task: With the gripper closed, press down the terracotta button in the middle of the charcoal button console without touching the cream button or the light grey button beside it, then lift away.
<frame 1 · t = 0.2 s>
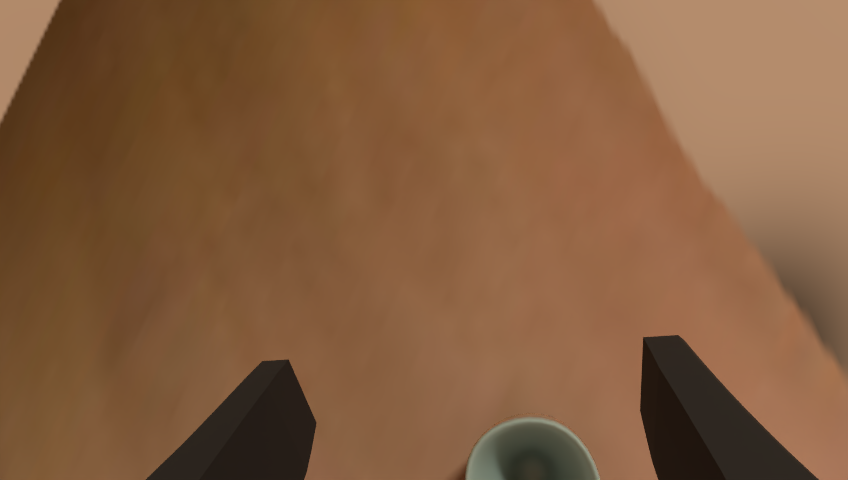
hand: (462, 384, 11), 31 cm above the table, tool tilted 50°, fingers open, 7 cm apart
cup: (533, 463, 39), on the table
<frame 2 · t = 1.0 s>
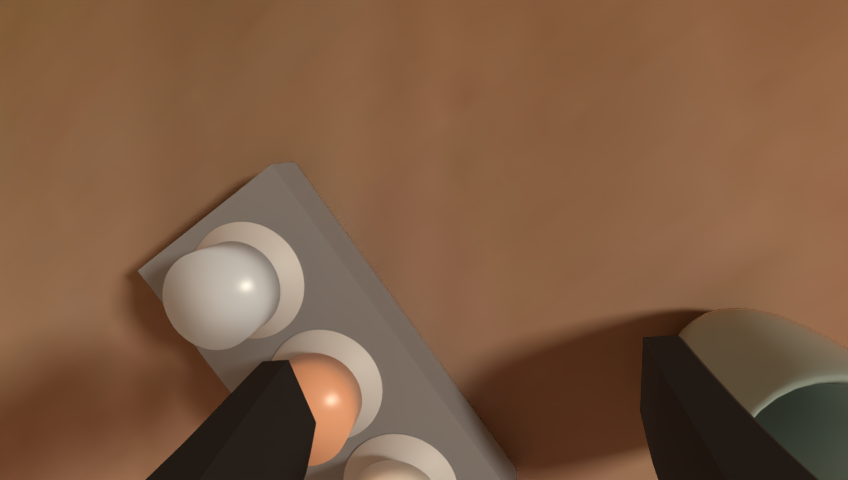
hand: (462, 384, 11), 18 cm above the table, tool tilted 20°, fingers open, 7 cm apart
console: (341, 362, 31), on the table
light grey button: (223, 293, 25), point 5 cm above the table, slide at 0.0 cm
terracotta button: (308, 407, 26), point 5 cm above the table, slide at 0.0 cm
cup: (720, 358, 28), on the table
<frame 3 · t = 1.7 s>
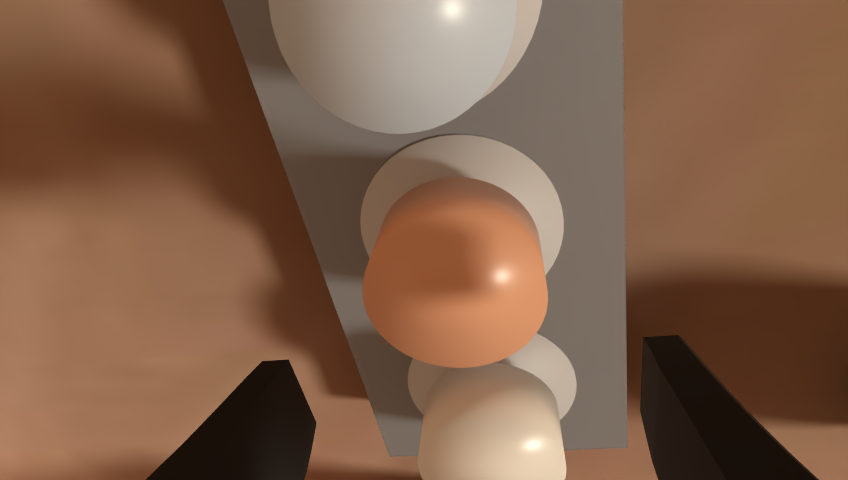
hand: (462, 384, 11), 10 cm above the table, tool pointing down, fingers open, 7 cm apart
cream button: (490, 438, 18), point 5 cm above the table, slide at 0.0 cm
console: (463, 188, 19), on the table
light grey button: (399, 5, 11), point 5 cm above the table, slide at 0.0 cm
terracotta button: (455, 273, 14), point 5 cm above the table, slide at 0.0 cm
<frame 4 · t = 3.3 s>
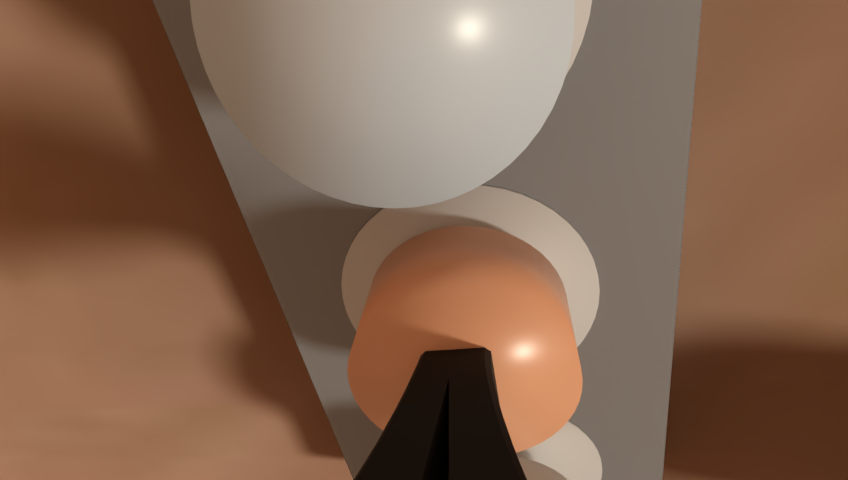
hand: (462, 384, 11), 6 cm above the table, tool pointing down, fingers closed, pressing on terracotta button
console: (470, 235, 16), on the table
light grey button: (392, 22, 8), point 5 cm above the table, slide at 0.0 cm
terracotta button: (464, 344, 12), point 5 cm above the table, slide at 0.7 cm, touching gripper
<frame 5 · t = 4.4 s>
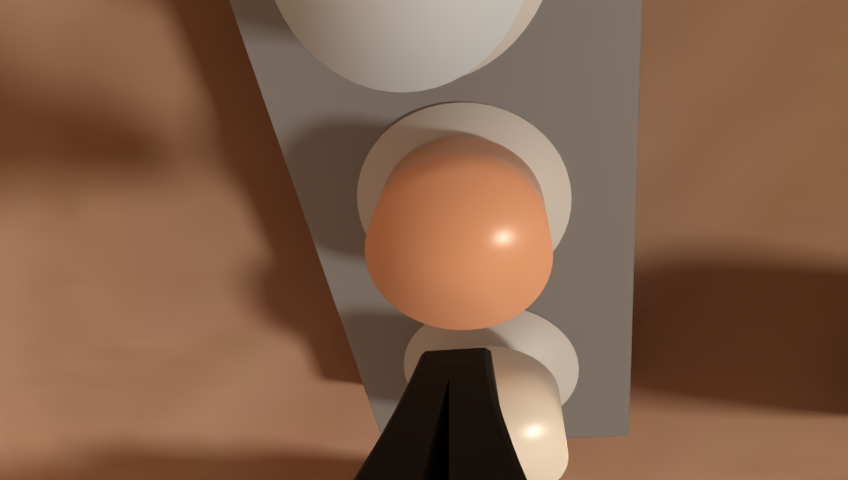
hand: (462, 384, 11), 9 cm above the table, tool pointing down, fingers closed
cream button: (489, 424, 17), point 5 cm above the table, slide at 0.0 cm
console: (465, 164, 18), on the table
terracotta button: (459, 234, 14), point 5 cm above the table, slide at 0.8 cm
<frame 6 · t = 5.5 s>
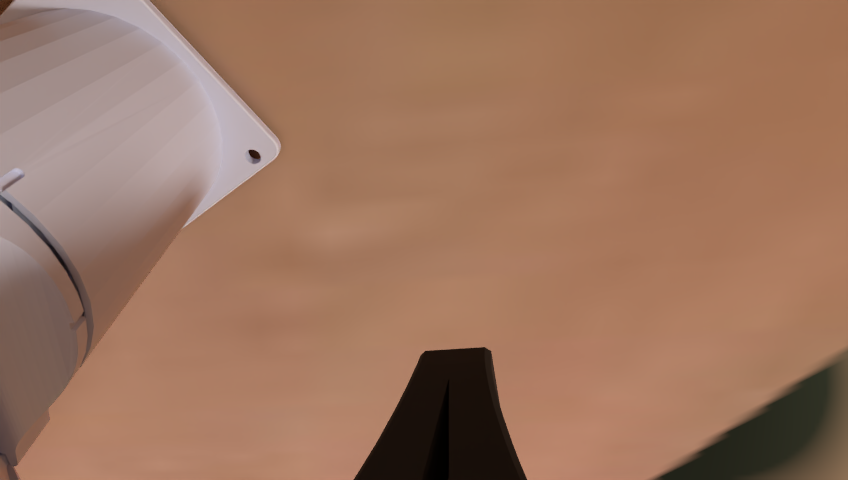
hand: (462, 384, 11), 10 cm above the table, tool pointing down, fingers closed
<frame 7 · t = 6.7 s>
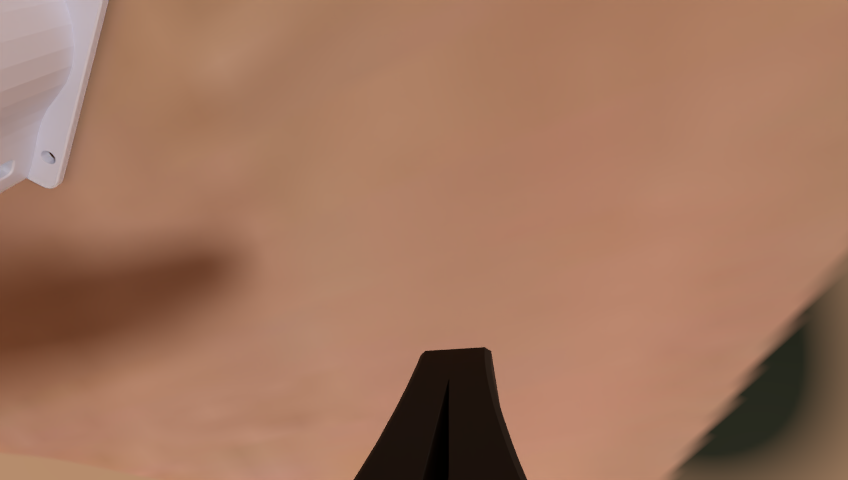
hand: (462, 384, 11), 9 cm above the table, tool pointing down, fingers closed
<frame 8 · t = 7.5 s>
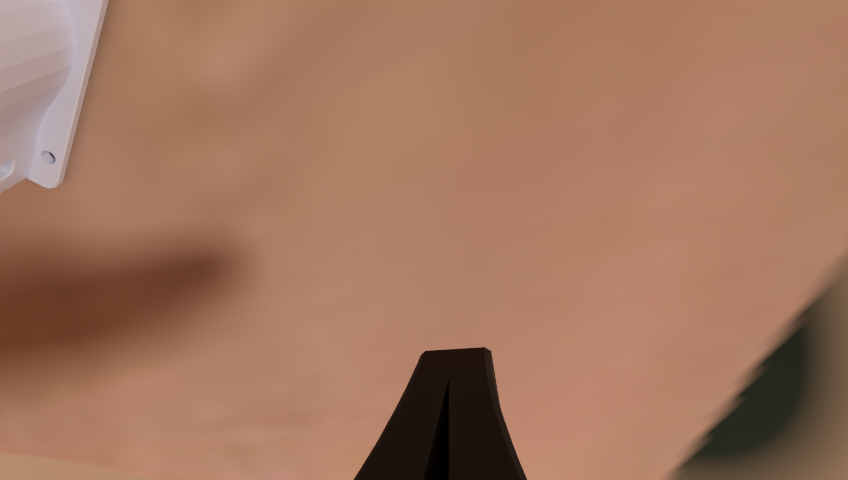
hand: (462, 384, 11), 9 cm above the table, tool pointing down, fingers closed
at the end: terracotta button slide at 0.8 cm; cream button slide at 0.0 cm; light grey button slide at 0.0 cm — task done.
